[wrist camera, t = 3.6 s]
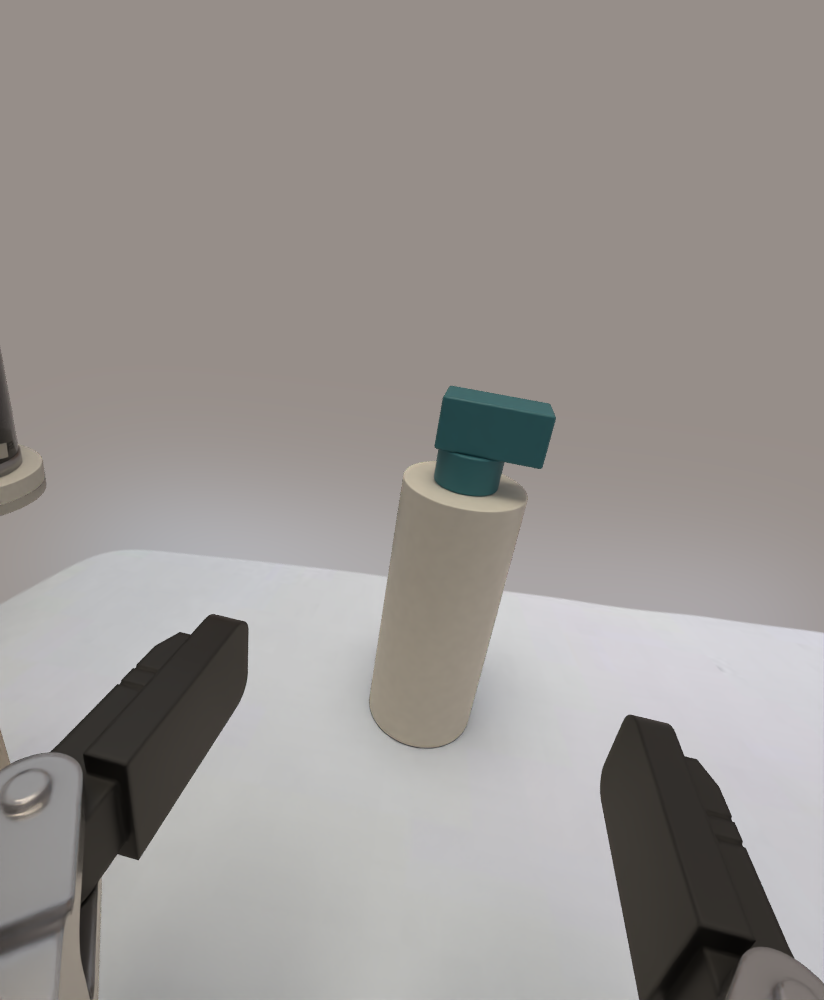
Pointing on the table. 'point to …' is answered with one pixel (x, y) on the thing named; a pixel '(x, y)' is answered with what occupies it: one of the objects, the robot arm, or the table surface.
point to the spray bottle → (452, 563)
